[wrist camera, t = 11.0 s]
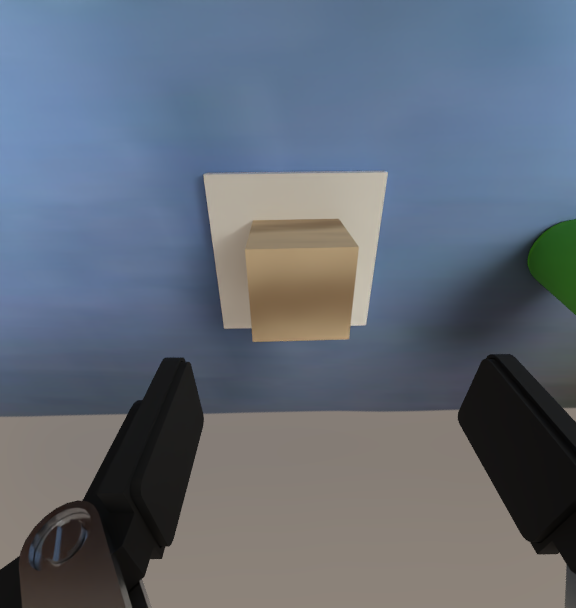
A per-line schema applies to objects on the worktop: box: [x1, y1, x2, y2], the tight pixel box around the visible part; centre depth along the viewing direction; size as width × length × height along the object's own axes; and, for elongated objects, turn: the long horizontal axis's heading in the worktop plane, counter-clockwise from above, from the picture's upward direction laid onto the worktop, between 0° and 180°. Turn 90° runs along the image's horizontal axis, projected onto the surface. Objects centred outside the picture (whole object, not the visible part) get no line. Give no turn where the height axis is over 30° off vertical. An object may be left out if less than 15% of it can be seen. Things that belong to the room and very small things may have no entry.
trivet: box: [203, 171, 388, 329], centre depth 23 cm, size 12×12×1 cm
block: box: [245, 219, 359, 342], centre depth 20 cm, size 6×6×6 cm
